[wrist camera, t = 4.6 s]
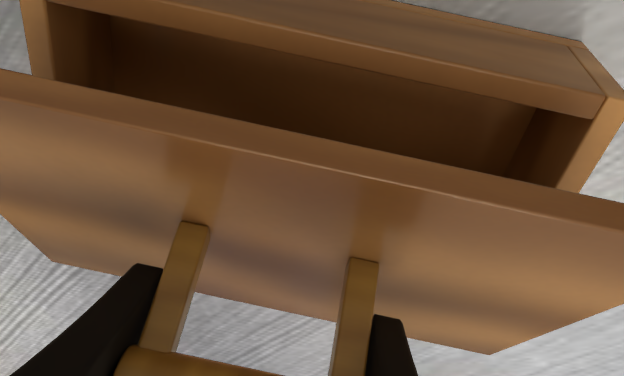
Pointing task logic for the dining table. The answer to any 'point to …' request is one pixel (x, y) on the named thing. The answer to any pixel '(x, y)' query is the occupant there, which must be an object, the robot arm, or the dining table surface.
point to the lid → (295, 227)
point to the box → (348, 76)
